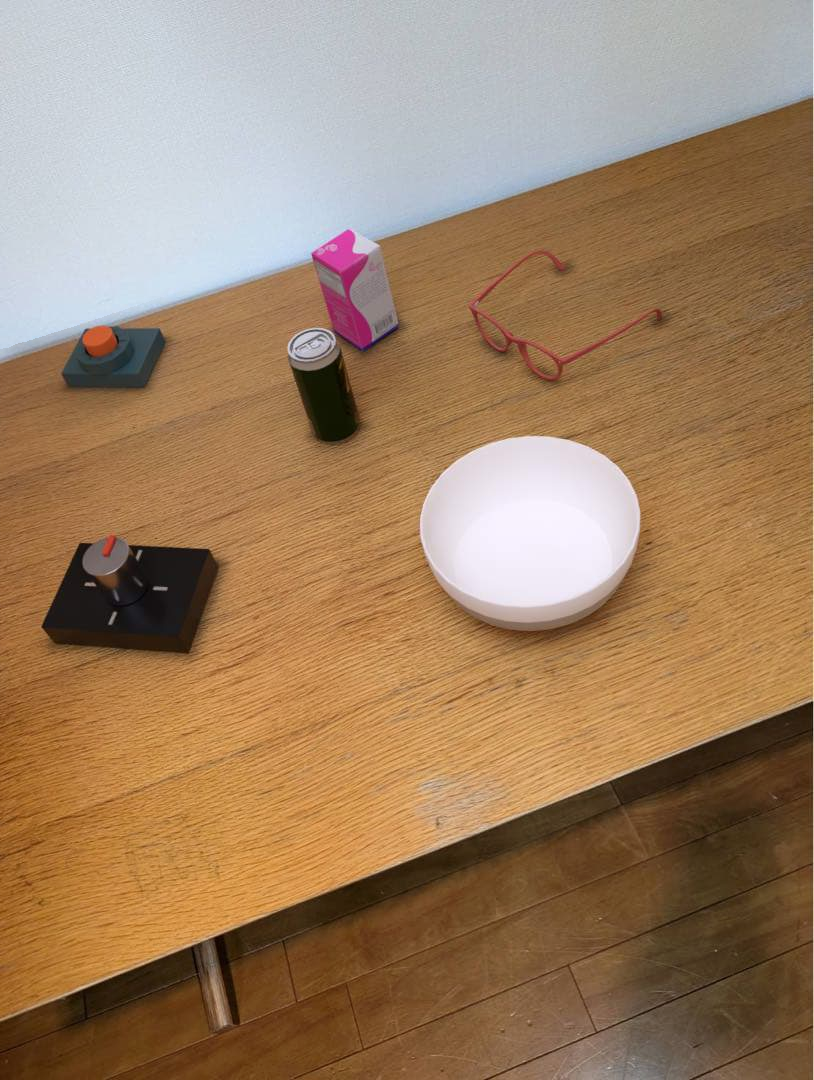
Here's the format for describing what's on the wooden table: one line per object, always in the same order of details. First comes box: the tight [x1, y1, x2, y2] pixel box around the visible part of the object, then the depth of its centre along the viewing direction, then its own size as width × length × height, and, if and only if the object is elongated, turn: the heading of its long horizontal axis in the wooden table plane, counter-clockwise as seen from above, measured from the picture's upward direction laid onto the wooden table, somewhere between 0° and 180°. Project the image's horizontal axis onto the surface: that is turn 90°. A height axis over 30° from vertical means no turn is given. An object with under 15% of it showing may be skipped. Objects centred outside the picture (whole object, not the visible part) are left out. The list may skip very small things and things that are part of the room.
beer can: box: [286, 327, 361, 446], centre depth 103 cm, size 5×5×12 cm
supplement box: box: [310, 227, 400, 353], centre depth 112 cm, size 6×6×12 cm
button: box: [82, 325, 118, 357], centre depth 116 cm, size 4×4×2 cm
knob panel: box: [40, 542, 219, 654], centre depth 95 cm, size 14×10×3 cm
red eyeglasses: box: [468, 249, 663, 381], centre depth 109 cm, size 17×16×5 cm
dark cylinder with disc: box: [83, 534, 148, 606], centre depth 92 cm, size 4×4×5 cm
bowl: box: [419, 435, 642, 632], centre depth 88 cm, size 19×19×9 cm
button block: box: [60, 325, 167, 388], centre depth 118 cm, size 10×8×4 cm
